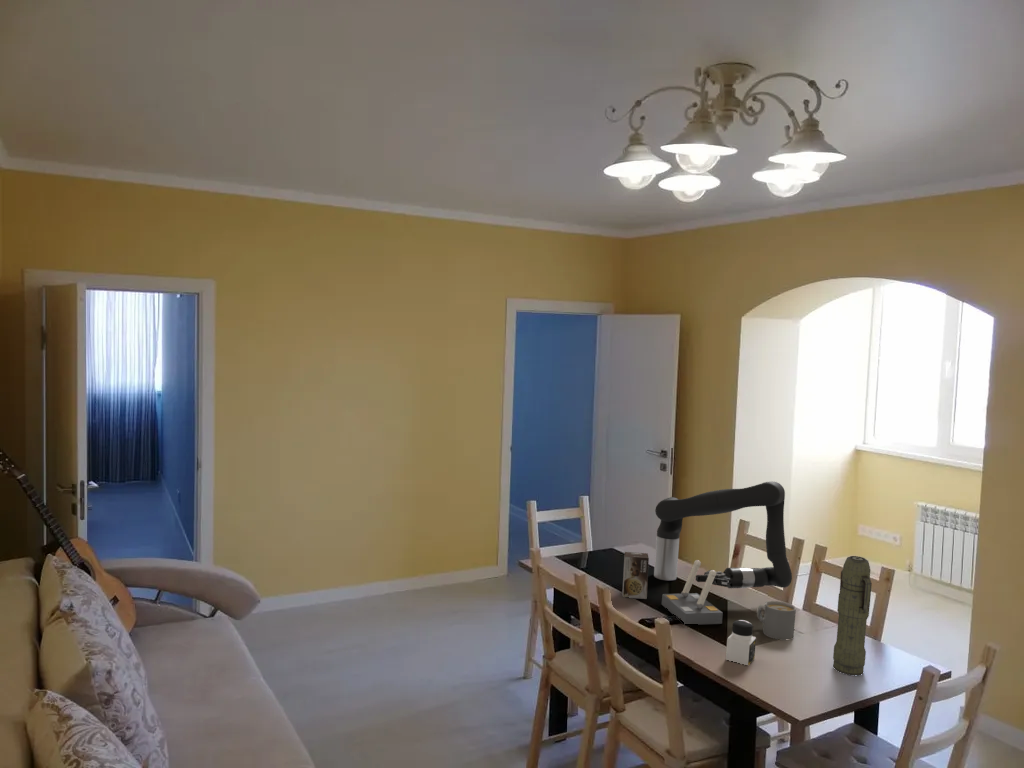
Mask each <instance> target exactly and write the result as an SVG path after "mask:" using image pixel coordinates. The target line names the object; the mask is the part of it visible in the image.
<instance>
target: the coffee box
mask: <svg viewBox="0 0 1024 768" xmlns="http://www.w3.org/2000/svg"><path fill="white" fill-rule="evenodd" d="M623 556H624V557H623V559H624V560H623V574H622V577H623V578H622V592H621V593H622V598H625V597H629V598H630V599H641V600H647V597H648V580H649V579H648V578H649V562H650V557H649V554H648V553H646V552H645V553H644V552H632V551H624V555H623ZM629 598H628V599H629Z"/></svg>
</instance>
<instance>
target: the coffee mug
mask: <svg viewBox="0 0 1024 768" xmlns="http://www.w3.org/2000/svg"><path fill="white" fill-rule="evenodd" d="M796 609H797V607H796V606H795V605H793V604H791V603H789V602H785V601H782V600H781V601H779V600H768V601H766V602H765V603H764V604H760V605H759V606H758V607H757V609H756V617H757V619H758V620H759V621H760V622H761V623H762V624H763V626H762V627H763V628H762V633H763V634H764V635H765V636H766V637H768V638H770V639H771V638H772V639H774V638H775V639H774V640H778V639H781V640H780V641H787V640H786V639H790V640H792V639H791V638H793V639H794V636H795V623H796ZM762 610H763V611H764V613H763V615H762Z"/></svg>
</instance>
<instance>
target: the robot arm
mask: <svg viewBox="0 0 1024 768" xmlns="http://www.w3.org/2000/svg"><path fill="white" fill-rule="evenodd" d="M785 499H786V491H785V489H784V486H782V484H781V483H780V482H777V481H765V482H761V483H758V484H756V485H751V486H748V487H747V486H746V487H743V488H725V489H724V488H723V489H717V490H711V491H707V492H703V493H699V494H695V495H694V496H690V497H686V498H681V499H680V498H679V499H678V498H677V497H673V496H671V497H670V496H669V497H667V498H664V499H662V500H660V501H659V502H658V503H657V504H656V506H655V510H654V511H655V515H656V517H657V518H658V519H659V520H660V523H659V526H657V527H658V528H657V530H656V539H655V555H654V556H655V557H654V568H653V577H654V578H656V579H658V580H661V581H676V580H677V577H678V562H679V550H680V549H679V548H680V537H681V536H680V535H681V531H682V528H683V527H682V526H683V519H684V518H689V517H702V516H712V515H713V516H714V515H719V514H720V515H721V514H727V513H731V512H735V511H738V510H742V509H744V508H748V507H749V508H751V507H765V509H766V517H767V518H766V519H767V520H766V531H765V547H766V557H767V559H768V560H769V561H770V562H771V564H772V566H767V567H761V568H759V567H750V568H749V567H726V568H725V569H724V570H723V572H722V571H721V570H720V571H715V572H716V576H715V578H714V580H713V583H712V585H713V586H719V587H724V588H728V589H748V588H762V587H765V586H773V587H777V588H785V589H786V588H788V587H789V586H790V585H791V584H792V581H793V580H792V579H793V573H792V569H791V566H790V563H789V559H788V558H787V557H788V556H787V548H786V538H785V537H786V536H785V526H784V525H785V523H784V522H785V521H784V520H785V519H784V516H785V515H784V512H785V510H784V509H785ZM711 570H712V569H709V570H706V571H705V572H704V574H696V576H695V582H698V583H705V582H706V580H707V578H708V575H709V572H710V571H711Z"/></svg>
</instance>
